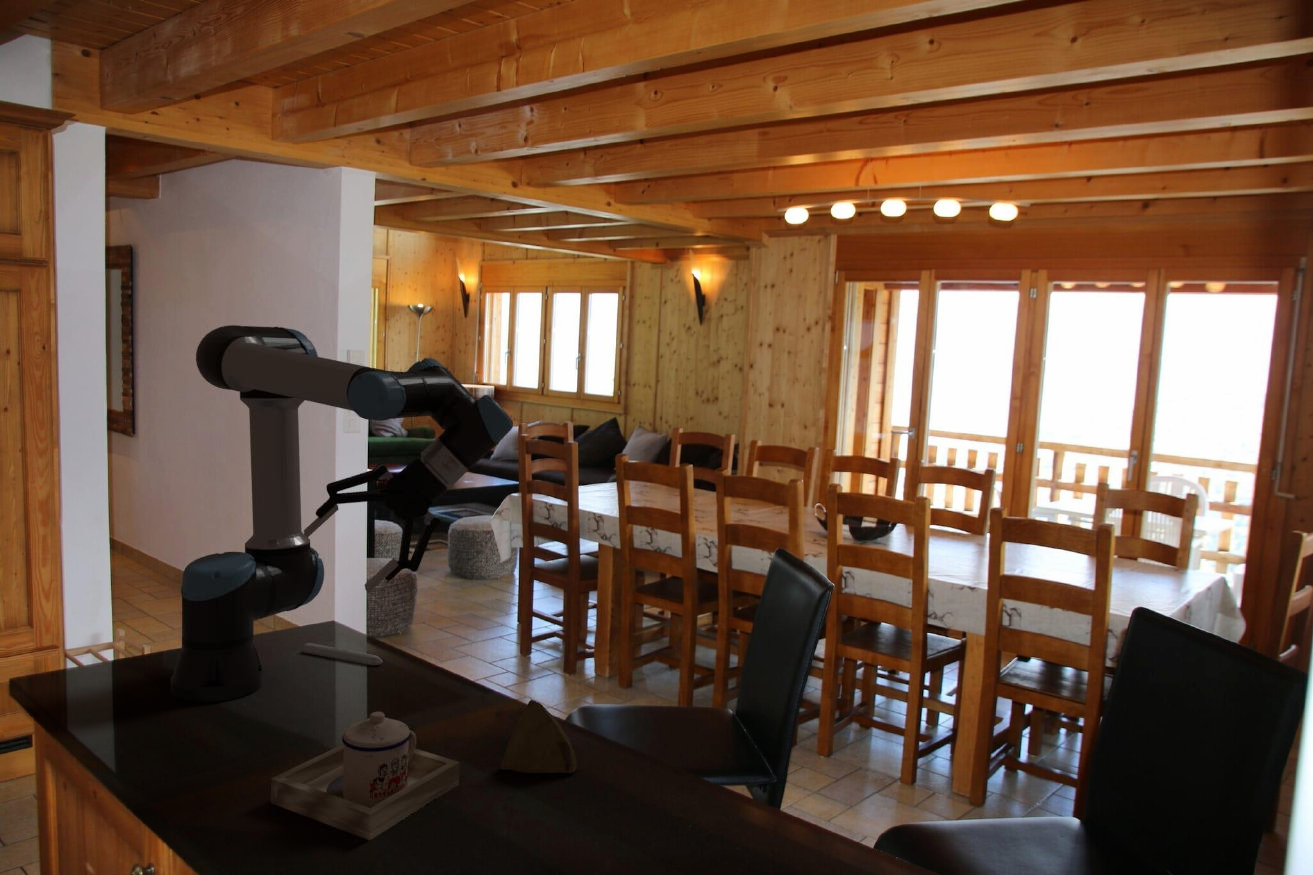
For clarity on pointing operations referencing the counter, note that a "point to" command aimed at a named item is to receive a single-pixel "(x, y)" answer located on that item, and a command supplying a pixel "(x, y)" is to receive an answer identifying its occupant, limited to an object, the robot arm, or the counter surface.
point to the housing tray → (321, 799)
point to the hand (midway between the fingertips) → (336, 562)
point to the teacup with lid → (376, 759)
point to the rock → (539, 744)
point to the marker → (342, 654)
